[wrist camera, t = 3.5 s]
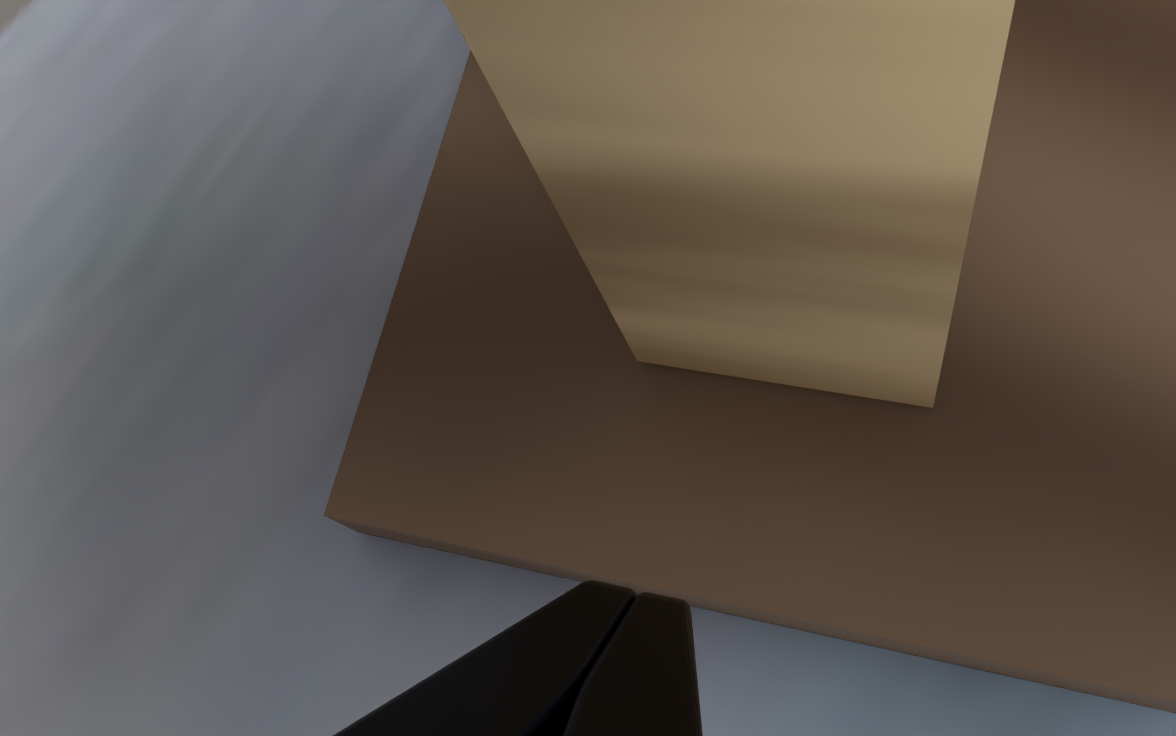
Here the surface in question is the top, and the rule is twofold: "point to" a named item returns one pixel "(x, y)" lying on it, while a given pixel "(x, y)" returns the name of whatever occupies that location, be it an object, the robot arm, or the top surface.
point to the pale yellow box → (760, 171)
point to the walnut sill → (828, 401)
